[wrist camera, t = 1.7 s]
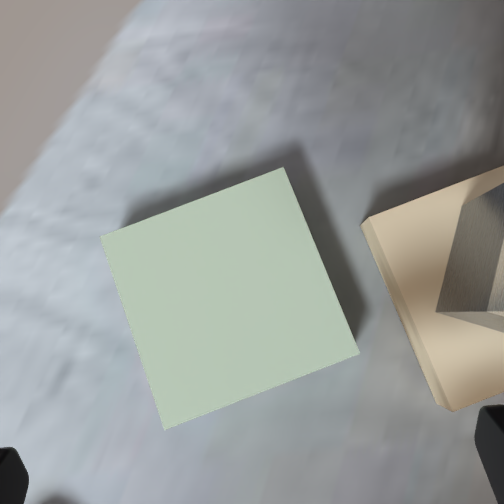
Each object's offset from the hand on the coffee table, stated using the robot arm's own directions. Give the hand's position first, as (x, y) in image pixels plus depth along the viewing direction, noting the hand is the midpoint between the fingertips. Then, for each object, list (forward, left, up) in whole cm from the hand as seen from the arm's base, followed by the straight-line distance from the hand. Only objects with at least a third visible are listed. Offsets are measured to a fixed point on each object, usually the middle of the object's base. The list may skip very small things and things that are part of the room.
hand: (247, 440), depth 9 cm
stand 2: (0, -13, -15) cm, 20 cm away
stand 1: (+4, 0, -15) cm, 15 cm away
